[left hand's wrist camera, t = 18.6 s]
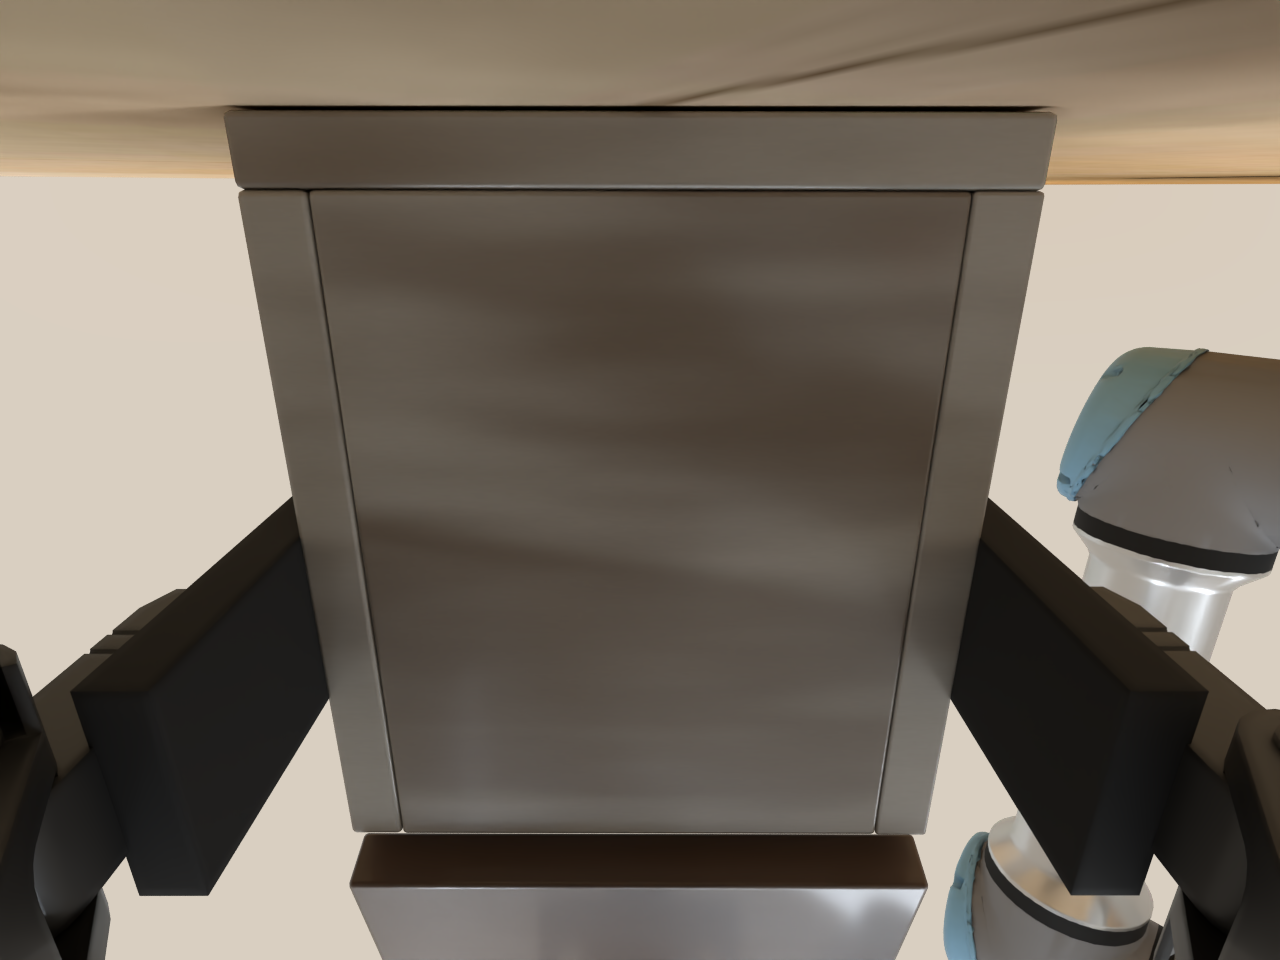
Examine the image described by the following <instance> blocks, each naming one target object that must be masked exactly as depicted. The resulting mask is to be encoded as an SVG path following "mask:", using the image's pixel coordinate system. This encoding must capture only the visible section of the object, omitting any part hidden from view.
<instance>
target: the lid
mask: <svg viewBox="0 0 1280 960" xmlns="http://www.w3.org/2000/svg"><path fill="white" fill-rule="evenodd" d="M350 888H351V891H352V893H353V895H354V897H355V900H356V902H357V904H358V906H359V908H360V911H361V913H362V915H363V917H364V919H365V922H366V924H367V926H368V928H369V931H370V933H371V935H372V937H373V940H374V942H375V944H376V946H377V948H378V951H379V953H380V955H381V957H382V960H895V959H896V957H897V954H898V952H899V950H900V948H901V946H902V943H903V941H904V939H905V937H906V935H907V932H908V930H909V928H910V926H911V924H912V921H913V919H914V917H915V915H916V913H917V910H918V908H919V906H920V904H921V902H922V899H923V897H924V895H925V893H926V891H927V889H928V883H927V880H926V877H925V874H924V870H923V867H922V864H921V861H920V858H919V854H918V851H917V848H916V845H915V841H914V838H913V837H912V836H911V835H866V834H435V833H368V834H366V835H365V836H364V839H363V842H362V846H361V849H360V852H359V855H358V858H357V861H356V864H355V868H354V871H353V874H352V877H351V880H350Z"/></svg>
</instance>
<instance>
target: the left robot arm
mask: <svg viewBox="0 0 1280 960" xmlns="http://www.w3.org/2000/svg"><path fill="white" fill-rule="evenodd" d="M328 699H329V694H328V688H327V683H326V677H325V672H324V667H323V661H322V656H321V650H320V645H319V639H318V634H317V628H316V623H315V618H314V612H313V606H312V601H311V595H310V590H309V584H308V579H307V573H306V568H305V562H304V557H303V551H302V546H301V540H300V535H299V529H298V524H297V518H296V513H295V507H294V502H293V496H292V497H291V498H290V499H289V500H287V501H286V502H285V503H284V504H283V505H282V506H281V507H279V508H278V509H277V510H276V511H275V512H274V513H273V514H271V515H270V516H269V517H268V518H267V519H266V520H265V521H264V522H262V523H261V524H260V525H259V526H258V527H257V528H256V529H254V530H253V531H252V532H251V533H250V534H249V535H248V536H247V537H245V538H244V539H243V540H242V541H241V542H240V543H238V544H237V545H236V546H235V547H234V548H233V549H232V550H231V551H229V552H228V553H227V554H226V555H225V556H224V557H222V558H221V559H220V560H219V561H218V562H217V563H216V564H215V565H213V566H212V567H211V568H210V569H209V570H208V571H207V572H205V573H204V574H203V575H202V576H201V577H200V578H199V579H197V580H196V581H195V582H194V583H193V584H192V585H191V586H190V587H188V588H187V589H176V590H174V591H172V592H170V593H168V594H166V595H164V596H162V597H160V598H158V599H156V600H154V601H153V602H150V603H148V604H146V605H145V606H143V607H141V608H139V609H138V610H137V611H135V612H134V613H133V614H132V615H131V616H129V617H128V618H127V619H126V620H125V621H123V622H122V623H121V624H120V625H119V626H117V627H116V628H115V629H114V630H113V633H112V635H107V636H105V637H104V638H103V639H102V640H101V641H99V642H98V643H97V644H96V645H95V646H93V647H92V648H91V649H90V654H84V655H82V656H81V657H80V658H79V659H78V660H76V661H75V662H74V663H73V664H72V665H71V666H69V667H68V668H67V669H66V670H64V671H63V672H62V673H61V674H60V675H58V676H57V677H56V678H55V679H54V680H53V681H51V682H50V683H49V684H48V685H46V686H45V687H44V688H43V689H42V690H41V691H39V692H38V693H37V694H36V695H34V696H33V697H32V694H31V691H30V688H29V686H28V683H27V680H26V677H25V675H24V672H23V669H22V667H21V664H20V661H19V658H18V655H17V653H16V651H14V650H12V649H10V648H8V647H7V646H5V645H1V644H0V960H105V954H106V947H107V940H108V933H109V926H110V913H109V907H108V902H107V900H106V897H105V894H104V891H103V889H102V887H103V886H104V884H105V883H106V882H107V880H108V879H109V878H110V877H111V875H112V874H113V873H114V871H115V870H116V869H117V867H118V866H119V865H120V863H121V862H122V861H123V860H124V858H125V857H127V861H128V863H129V866H130V869H131V872H132V875H133V878H134V881H135V884H136V887H137V890H138V893H139V895H140V896H208V895H209V894H210V892H211V890H212V889H213V887H214V885H215V884H216V882H217V881H218V879H219V877H220V876H221V874H222V872H223V871H224V869H225V867H226V866H227V864H228V863H229V861H230V859H231V858H232V856H233V854H234V853H235V851H236V849H237V848H238V846H239V845H240V843H241V841H242V840H243V838H244V836H245V835H246V833H247V832H248V830H249V828H250V827H251V825H252V823H253V822H254V820H255V818H256V817H257V815H258V814H259V812H260V810H261V809H262V807H263V805H264V804H265V802H266V800H267V799H268V797H269V796H270V794H271V792H272V791H273V789H274V787H275V786H276V784H277V782H278V781H279V779H280V778H281V776H282V774H283V773H284V771H285V769H286V768H287V766H288V765H289V763H290V761H291V760H292V758H293V756H294V755H295V753H296V751H297V750H298V748H299V747H300V745H301V743H302V742H303V740H304V738H305V737H306V735H307V733H308V732H309V730H310V729H311V727H312V725H313V724H314V722H315V720H316V719H317V717H318V716H319V714H320V712H321V711H322V709H323V707H324V706H325V704H326V702H327V701H328ZM950 699H951V700H952V702H953V704H954V705H955V707H956V709H957V710H958V712H959V714H960V715H961V717H962V718H963V720H964V722H965V723H966V725H967V727H968V728H969V730H970V731H971V733H972V735H973V736H974V738H975V740H976V741H977V743H978V745H979V746H980V748H981V750H982V751H983V753H984V754H985V756H986V758H987V759H988V761H989V763H990V764H991V766H992V767H993V769H994V771H995V772H996V774H997V776H998V777H999V779H1000V780H1001V782H1002V784H1003V785H1004V787H1005V789H1006V790H1007V792H1008V793H1009V795H1010V797H1011V799H1012V800H1013V802H1014V803H1015V805H1016V807H1017V808H1018V810H1019V812H1020V813H1021V815H1022V817H1023V818H1024V820H1025V821H1026V823H1027V825H1028V826H1029V828H1030V830H1031V831H1032V833H1033V835H1034V836H1035V838H1036V839H1037V841H1038V843H1039V844H1040V846H1041V848H1042V849H1043V851H1044V852H1045V854H1046V856H1047V857H1048V859H1049V861H1050V862H1051V864H1052V866H1053V867H1054V869H1055V870H1056V872H1057V874H1058V875H1059V877H1060V879H1061V880H1062V882H1063V884H1064V885H1065V887H1066V888H1067V890H1068V892H1069V893H1070V895H1071V896H1140V893H1141V890H1142V887H1143V884H1144V881H1145V878H1146V875H1147V872H1148V869H1149V866H1150V863H1151V860H1152V857H1153V854H1155V855H1156V857H1157V858H1158V859H1159V860H1160V862H1161V863H1162V864H1163V866H1164V867H1165V868H1166V870H1167V871H1168V872H1169V873H1170V875H1171V876H1172V877H1173V879H1174V880H1175V881H1176V882H1177V884H1178V885H1179V886H1178V889H1177V891H1176V894H1175V897H1174V900H1173V902H1172V905H1171V908H1170V911H1169V913H1168V916H1167V919H1166V922H1165V924H1164V927H1163V930H1162V932H1161V935H1160V938H1159V941H1158V943H1157V946H1156V949H1155V952H1154V957H1153V960H1169V958H1170V956H1171V955H1173V954H1175V959H1176V960H1280V710H1278V709H1268V710H1266V709H1265V708H1264V707H1263V706H1261V705H1260V704H1259V703H1258V702H1257V701H1255V700H1254V699H1253V698H1252V697H1251V696H1249V695H1248V694H1247V693H1246V692H1244V691H1243V690H1242V689H1241V688H1240V687H1238V686H1237V685H1236V684H1235V683H1234V682H1232V681H1231V680H1230V679H1229V678H1228V677H1226V676H1225V675H1224V674H1223V673H1222V672H1220V671H1219V670H1218V669H1217V668H1216V667H1214V666H1213V665H1212V664H1211V663H1209V662H1208V661H1207V660H1206V659H1205V658H1203V657H1202V656H1201V655H1200V654H1199V653H1197V652H1196V651H1190V646H1189V645H1188V644H1186V643H1185V642H1184V641H1183V640H1182V639H1180V638H1179V637H1178V636H1177V635H1176V634H1174V633H1173V632H1168V631H1167V627H1166V626H1165V625H1163V624H1162V623H1161V622H1160V621H1159V620H1157V619H1156V618H1155V617H1154V616H1153V615H1151V614H1150V613H1149V612H1148V611H1147V610H1145V609H1144V608H1143V607H1142V606H1141V605H1139V604H1137V603H1135V602H1133V601H1131V600H1129V599H1127V598H1125V597H1123V596H1121V595H1119V594H1117V593H1115V592H1113V591H1111V590H1109V589H1107V588H1105V587H1103V586H1089V585H1087V584H1086V583H1085V582H1084V581H1083V580H1082V579H1081V578H1079V577H1078V576H1077V575H1076V574H1075V573H1074V572H1072V571H1071V570H1070V569H1069V568H1068V567H1067V566H1066V565H1065V564H1063V563H1062V562H1061V561H1060V560H1059V559H1058V558H1057V557H1055V556H1054V555H1053V554H1052V553H1051V552H1050V551H1049V550H1047V549H1046V548H1045V547H1044V546H1043V545H1042V544H1041V543H1040V542H1038V541H1037V540H1036V539H1035V538H1034V537H1033V536H1032V535H1030V534H1029V533H1028V532H1027V531H1026V530H1025V529H1024V528H1022V527H1021V526H1020V525H1019V524H1018V523H1017V522H1016V521H1014V520H1013V519H1012V518H1011V517H1010V516H1009V515H1008V514H1007V513H1005V512H1004V511H1003V510H1002V509H1001V508H1000V507H998V506H997V505H996V504H995V503H994V502H993V501H992V500H991V499H989V498H988V500H987V505H986V510H985V516H984V521H983V527H982V532H981V537H980V541H979V546H978V551H977V557H976V562H975V568H974V573H973V579H972V584H971V589H970V595H969V600H968V606H967V611H966V617H965V622H964V627H963V633H962V638H961V644H960V649H959V654H958V660H957V665H956V671H955V676H954V682H953V687H952V692H951V698H950Z"/></svg>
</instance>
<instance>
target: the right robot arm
mask: <svg viewBox="0 0 1280 960" xmlns="http://www.w3.org/2000/svg"><path fill="white" fill-rule="evenodd" d="M1057 489H1058V491H1059V493H1060V494H1061V495H1063V496H1065V497H1067V499H1068V500H1070V501H1077V500H1078V507H1077V511H1076V515H1075V518H1074V522H1073V528H1074V530H1075V531H1076V532H1077V534H1078V535H1079V537H1080V538H1081V540H1082V541H1083V542H1084V544H1085V545H1086V547H1087V548H1088V551H1089V558H1088V561H1087V565H1086V568H1085V572H1084V575H1083V579H1082V580H1083V581H1084V582H1085V583H1086V584H1087V585H1089V586H1103V587H1105V588H1107V589H1109V590H1111V591H1113V592H1115V593H1117V594H1119V595H1121V596H1123V597H1125V598H1127V599H1129V600H1131V601H1133V602H1135V603H1137V604H1139V605H1141V606H1142V607H1143V608H1144V609H1145V610H1147V611H1148V612H1149V613H1150V614H1151V615H1153V616H1154V617H1155V618H1156V619H1157V620H1159V621H1160V622H1161V623H1162V624H1163V625H1165V626H1166V627H1167V631H1168V632H1173V633H1174V634H1176V635H1177V636H1178V637H1179V638H1180V639H1182V640H1183V641H1184V642H1185V643H1186V644H1188V645H1189V646H1190V651H1196V652H1197V653H1199V654H1200V655H1201V656H1202V657H1203V658H1205V659H1206V660H1207V661H1208V662H1209V661H1210V658H1211V655H1212V652H1213V649H1214V646H1215V643H1216V640H1217V637H1218V634H1219V631H1220V628H1221V625H1222V622H1223V619H1224V616H1225V614H1226V611H1227V608H1228V605H1229V602H1230V599H1231V596H1232V593H1233V591H1234V590H1235V589H1237V588H1238V587H1240V586H1242V585H1245V584H1248V583H1251V582H1253V581H1256V580H1259V579H1261V578H1264V577H1266V576H1268V575H1269V574H1270V573H1271V571H1272V568H1273V565H1274V562H1275V559H1276V556H1277V553H1278V551H1279V549H1280V360H1278V359H1269V358H1260V357H1252V356H1243V355H1234V354H1226V353H1217V352H1209V350H1207V349H1200V348H1199V349H1196V350H1181V349H1168V348H1154V347H1143V348H1137V349H1133V350H1131V351H1128V352H1126V353H1125V354H1123V355H1121V356H1120V357H1119V358H1117V359H1116V360H1115V361H1114V362H1113V363H1112V364H1111V365H1110V366H1109V368H1108V369H1107V370H1106V371H1105V373H1104V374H1103V375H1102V377H1101V378H1100V380H1099V381H1098V383H1097V384H1096V386H1095V387H1094V389H1093V391H1092V393H1091V394H1090V396H1089V398H1088V400H1087V402H1086V403H1085V405H1084V407H1083V409H1082V411H1081V413H1080V415H1079V418H1078V420H1077V422H1076V424H1075V426H1074V428H1073V431H1072V433H1071V436H1070V438H1069V441H1068V443H1067V446H1066V449H1065V451H1064V454H1063V458H1062V461H1061V464H1060V474H1059V477H1058V479H1057ZM1152 911H1153V899H1152V896H1151V893H1150V891H1149V889H1148V886H1147V885H1146V883H1145V882H1144V884H1143V887H1142V890H1141V893H1140V896H1071V895H1070V893H1069V892H1068V890H1067V888H1066V887H1065V885H1064V884H1063V882H1062V880H1061V879H1060V877H1059V875H1058V874H1057V872H1056V870H1055V869H1054V867H1053V866H1052V864H1051V862H1050V861H1049V859H1048V857H1047V856H1046V854H1045V852H1044V851H1043V849H1042V848H1041V846H1040V844H1039V843H1038V841H1037V839H1036V838H1035V836H1034V835H1033V833H1032V831H1031V830H1030V828H1029V826H1028V825H1027V823H1026V821H1025V820H1024V818H1023V817H1022V815H1021V813H1020V812H1019V810H1018V811H1017V815H1016V816H1013V817H1009V818H1005V819H1002V820H1000V821H999V822H997V823H996V824H995V825H994V826H993V827H992V828H991V831H990V833H987V832H978V833H976V834H975V835H974V836H973V837H972V838H971V839H970V840H969V842H968V843H967V845H966V847H965V848H964V850H963V852H962V855H961V857H960V859H959V862H958V864H957V867H956V871H955V876H954V883H953V885H952V886H951V887H950V891H949V895H948V900H947V905H946V911H945V918H944V946H945V951H946V954H947V957H948V960H1153V957H1154V952H1155V949H1156V946H1157V943H1158V941H1159V938H1160V935H1161V932H1162V930H1163V926H1161V925H1159V924H1157V923H1155V922H1154V921H1152V920H1150V918H1151V916H1152ZM1169 960H1176V959H1175V954H1173V955H1171V956H1170V958H1169Z"/></svg>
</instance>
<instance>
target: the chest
mask: <svg viewBox="0 0 1280 960" xmlns="http://www.w3.org/2000/svg"><path fill="white" fill-rule="evenodd" d="M224 121H225V127H226V132H227V138H228V143H229V149H230V154H231V160H232V165H233V171H234V176H235V181H236V183H237V185H238V187H240V188H243V189H245V190H243V191H241V192H239V196H238V198H239V204H240V209H241V215H242V220H243V226H244V231H245V237H246V242H247V248H248V254H249V259H250V265H251V270H252V276H253V281H254V287H255V292H256V298H257V303H258V309H259V314H260V320H261V325H262V331H263V336H264V342H265V347H266V353H267V358H268V364H269V369H270V375H271V380H272V386H273V391H274V397H275V402H276V408H277V413H278V419H279V424H280V430H281V435H282V441H283V447H284V452H285V457H286V463H287V469H288V474H289V480H290V485H291V491H292V496H293V502H294V507H295V513H296V518H297V524H298V529H299V535H300V540H301V546H302V551H303V557H304V562H305V568H306V573H307V579H308V584H309V590H310V595H311V601H312V606H313V612H314V618H315V623H316V628H317V634H318V639H319V645H320V650H321V656H322V661H323V667H324V672H325V677H326V683H327V688H328V694H329V700H330V706H331V711H332V717H333V722H334V728H335V733H336V739H337V744H338V750H339V755H340V761H341V766H342V772H343V777H344V783H345V788H346V794H347V800H348V805H349V811H350V816H351V822H352V827H353V830H354V831H355V832H400V831H401V830H402V829H404V831H405V832H407V833H764V834H871V833H873V832H874V830H875V833H876V834H925V832H926V826H927V821H928V816H929V810H930V805H931V800H932V794H933V789H934V784H935V778H936V773H937V767H938V762H939V757H940V752H941V746H942V741H943V735H944V730H945V725H946V719H947V714H948V709H949V703H950V698H951V692H952V687H953V682H954V676H955V671H956V665H957V660H958V654H959V649H960V644H961V638H962V633H963V627H964V622H965V617H966V611H967V606H968V600H969V595H970V589H971V584H972V579H973V573H974V568H975V562H976V557H977V551H978V546H979V541H980V537H981V532H982V527H983V521H984V516H985V510H986V505H987V500H988V494H989V489H990V484H991V478H992V473H993V467H994V462H995V457H996V452H997V446H998V441H999V436H1000V430H1001V425H1002V419H1003V414H1004V409H1005V403H1006V398H1007V392H1008V387H1009V382H1010V377H1011V371H1012V366H1013V360H1014V355H1015V350H1016V344H1017V339H1018V334H1019V328H1020V323H1021V318H1022V312H1023V307H1024V302H1025V296H1026V291H1027V285H1028V280H1029V275H1030V269H1031V264H1032V259H1033V253H1034V248H1035V243H1036V237H1037V232H1038V227H1039V221H1040V216H1041V210H1042V205H1043V200H1044V193H1042V192H1040V191H1038V190H1040V189H1042V188H1043V187H1044V185H1045V182H1046V177H1047V171H1048V166H1049V160H1050V155H1051V150H1052V144H1053V139H1054V134H1055V128H1056V123H1057V116H1056V115H1055V114H1053V113H1051V112H880V111H479V110H230V111H228V112H226V113H225V114H224Z"/></svg>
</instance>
